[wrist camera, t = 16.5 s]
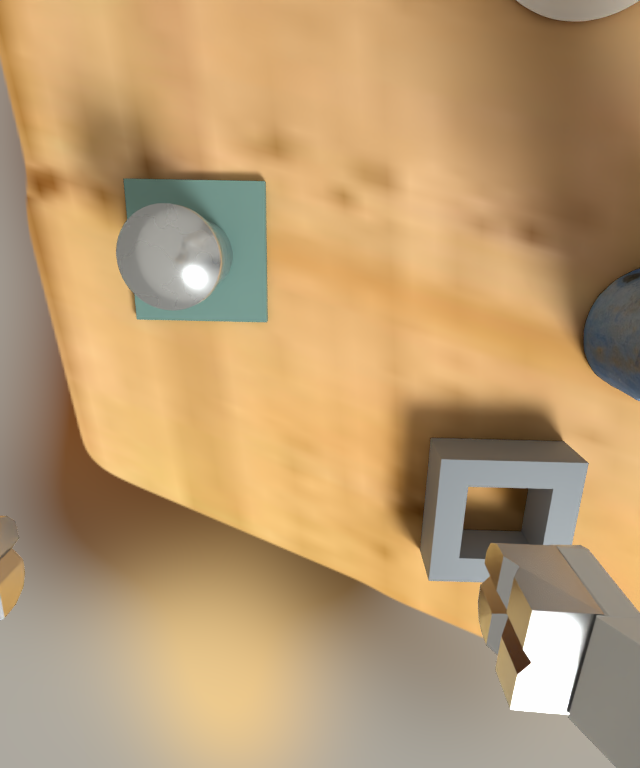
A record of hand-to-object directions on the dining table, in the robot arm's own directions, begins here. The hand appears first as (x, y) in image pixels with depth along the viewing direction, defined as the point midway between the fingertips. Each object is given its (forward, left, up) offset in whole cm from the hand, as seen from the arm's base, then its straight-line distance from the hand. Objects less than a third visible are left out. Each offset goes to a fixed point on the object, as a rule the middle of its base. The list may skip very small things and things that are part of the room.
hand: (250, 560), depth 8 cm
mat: (-4, -9, -30) cm, 31 cm away
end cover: (-4, -8, -29) cm, 31 cm away
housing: (+16, +15, -30) cm, 37 cm away
